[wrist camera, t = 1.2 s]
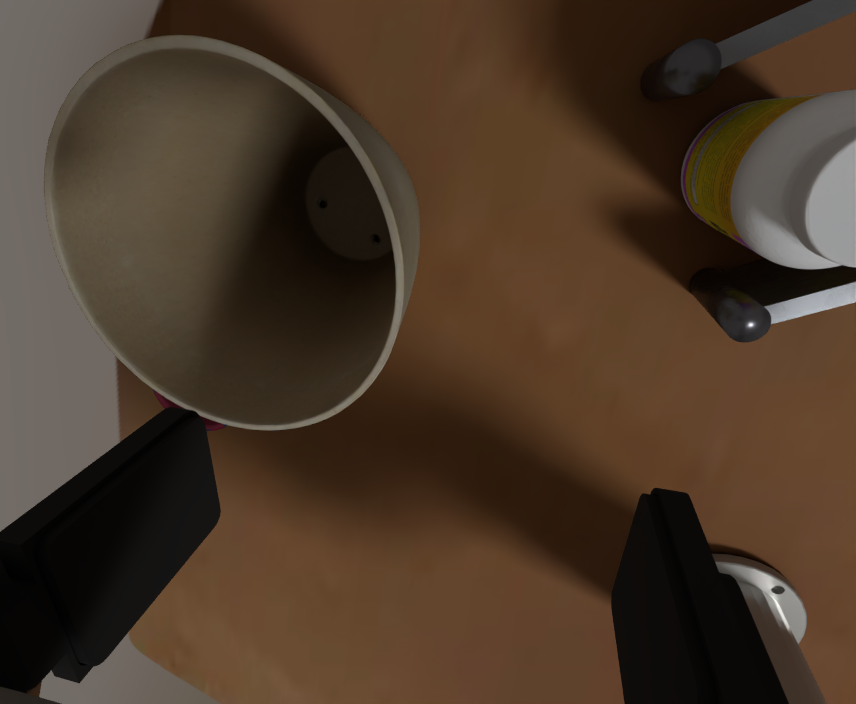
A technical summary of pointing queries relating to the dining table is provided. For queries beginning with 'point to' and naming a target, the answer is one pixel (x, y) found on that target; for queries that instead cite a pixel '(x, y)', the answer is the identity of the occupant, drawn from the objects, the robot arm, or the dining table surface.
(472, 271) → the dining table surface
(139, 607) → the robot arm
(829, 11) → the gray wall barrier
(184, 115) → the plant pot
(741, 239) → the supplement bottle
